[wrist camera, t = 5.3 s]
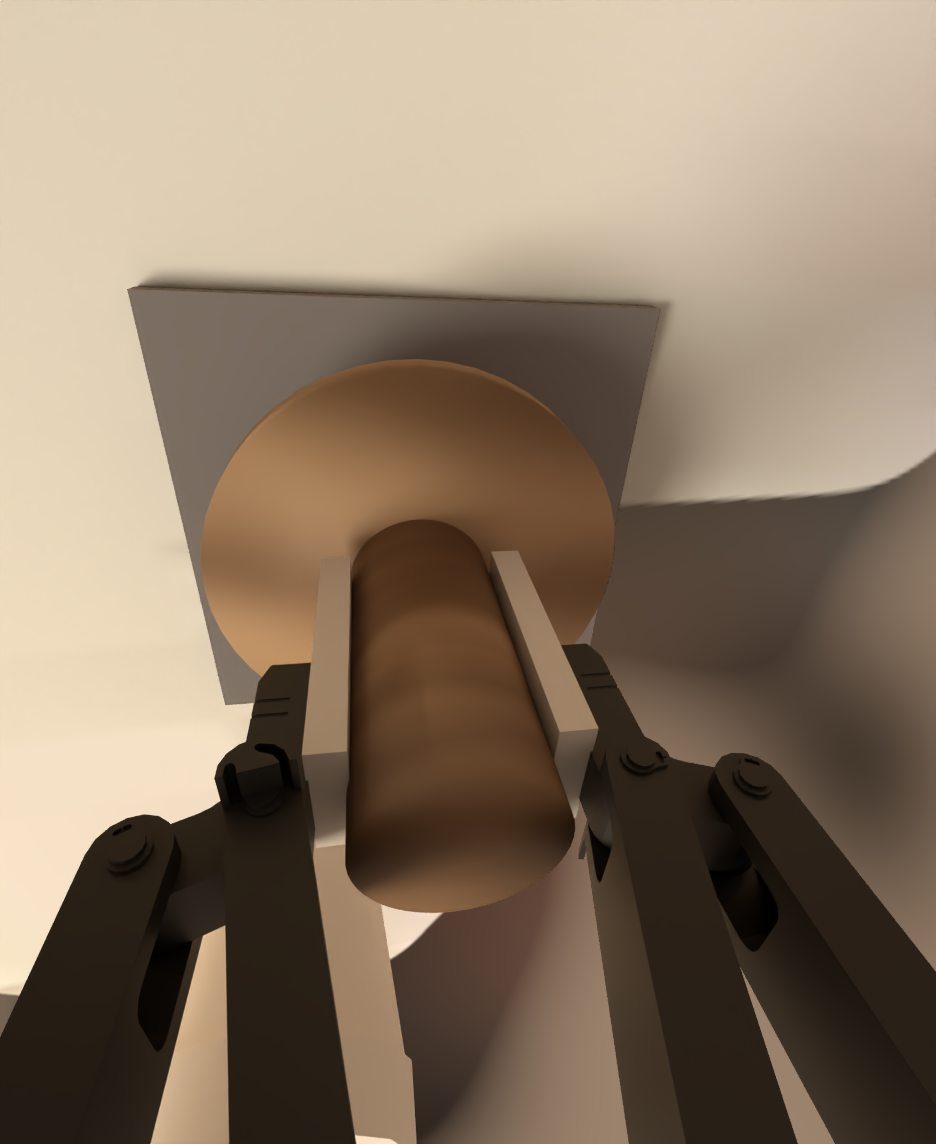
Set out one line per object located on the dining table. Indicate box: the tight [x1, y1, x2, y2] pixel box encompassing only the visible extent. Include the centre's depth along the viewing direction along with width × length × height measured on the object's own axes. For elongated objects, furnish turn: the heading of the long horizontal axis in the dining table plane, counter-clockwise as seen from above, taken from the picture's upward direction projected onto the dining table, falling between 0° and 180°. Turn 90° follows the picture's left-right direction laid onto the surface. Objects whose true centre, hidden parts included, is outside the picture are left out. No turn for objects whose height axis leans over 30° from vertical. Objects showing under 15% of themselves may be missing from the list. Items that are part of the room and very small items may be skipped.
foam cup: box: [151, 839, 416, 1144], centre depth 22 cm, size 10×9×13 cm
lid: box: [201, 359, 615, 913], centre depth 14 cm, size 12×12×10 cm
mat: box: [127, 287, 660, 705], centre depth 20 cm, size 15×15×1 cm
